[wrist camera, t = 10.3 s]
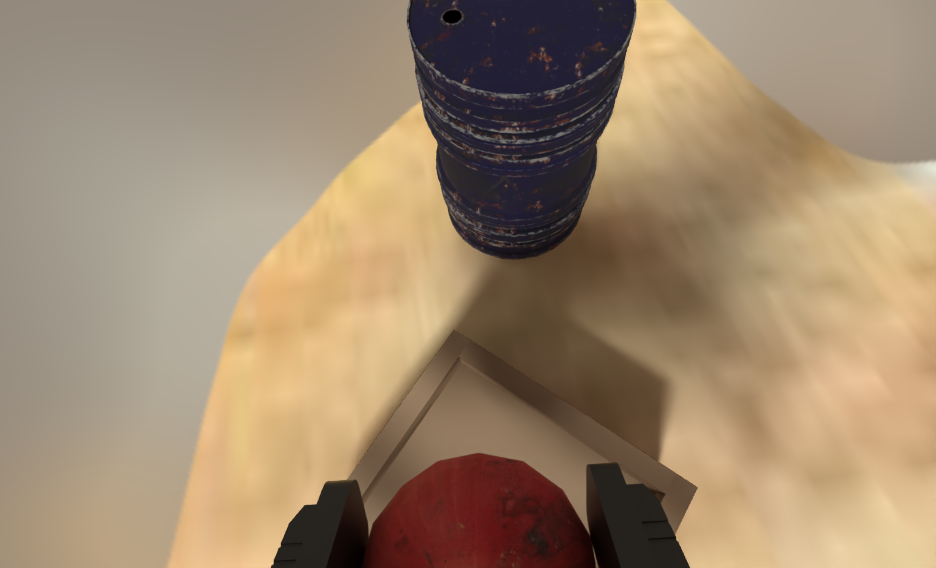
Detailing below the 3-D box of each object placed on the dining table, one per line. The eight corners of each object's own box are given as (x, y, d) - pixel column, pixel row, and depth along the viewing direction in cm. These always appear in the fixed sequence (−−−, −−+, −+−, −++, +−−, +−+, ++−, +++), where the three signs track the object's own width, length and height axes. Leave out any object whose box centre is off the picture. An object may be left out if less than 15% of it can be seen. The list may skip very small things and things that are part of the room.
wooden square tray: (464, 358, 30) (454, 329, 24) (654, 484, 27) (697, 487, 21) (333, 549, 27) (282, 570, 21) (532, 723, 23) (541, 810, 17)
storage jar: (571, 134, 35) (611, -84, 22) (598, 250, 32) (668, 78, 18) (439, 151, 36) (397, -52, 22) (451, 269, 32) (409, 113, 18)
